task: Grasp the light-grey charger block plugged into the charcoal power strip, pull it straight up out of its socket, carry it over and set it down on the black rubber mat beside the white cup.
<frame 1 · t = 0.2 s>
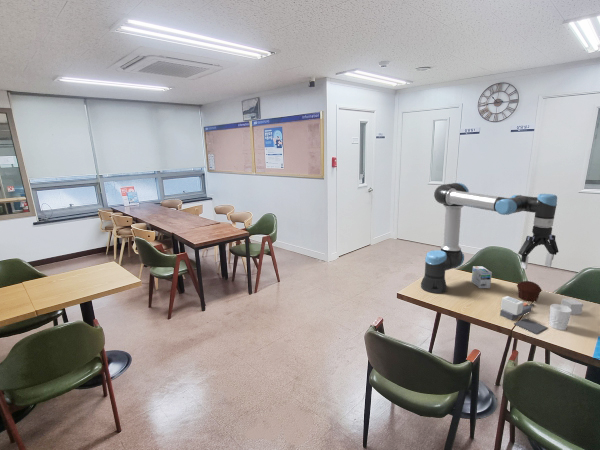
hand: (535, 267, 159), 27 cm above the table, fingers open, 13 cm apart
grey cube: (570, 312, 168), on the table
light bulb box: (480, 285, 203), on the table
white cup: (557, 326, 155), on the table
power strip: (515, 313, 168), on the table
muffin: (527, 298, 183), on the table
mat: (530, 326, 155), on the table
charger: (511, 310, 165), point 3 cm above the table, touching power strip
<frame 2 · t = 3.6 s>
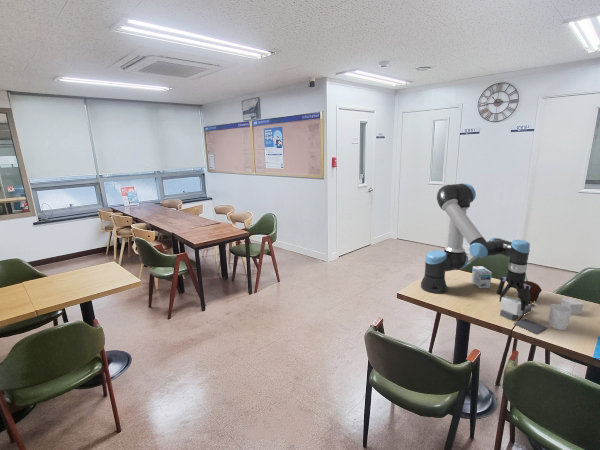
hand: (510, 311, 165), 2 cm above the table, fingers closed on charger, 8 cm apart
charger: (511, 310, 165), point 3 cm above the table, touching gripper, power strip
everything else where it was.
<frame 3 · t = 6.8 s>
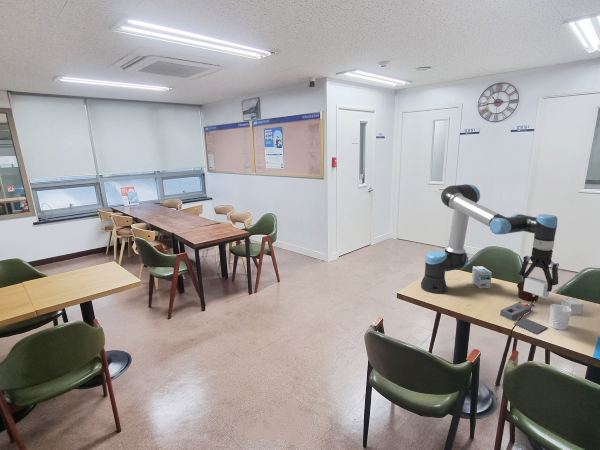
hand: (535, 293, 151), 18 cm above the table, fingers closed on charger, 8 cm apart
charger: (535, 292, 151), point 18 cm above the table, touching gripper
everything else where it was.
when the fingers open (3 cm above the table, at t = 10.3 s): charger drops 1 cm, resting on mat.
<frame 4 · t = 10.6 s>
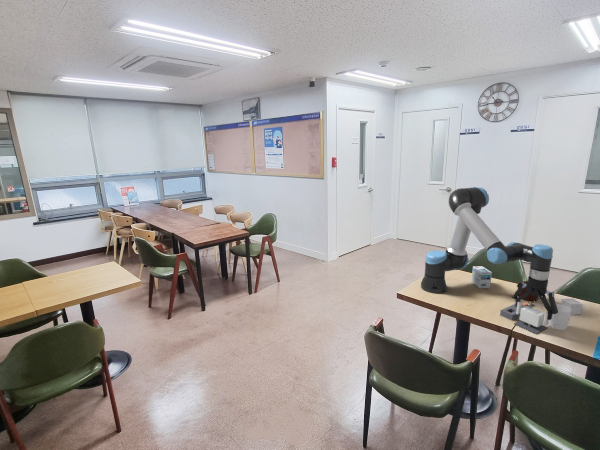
hand: (531, 319, 155), 4 cm above the table, fingers open, 11 cm apart
charger: (530, 321, 155), point 2 cm above the table, touching mat
everything else where it was.
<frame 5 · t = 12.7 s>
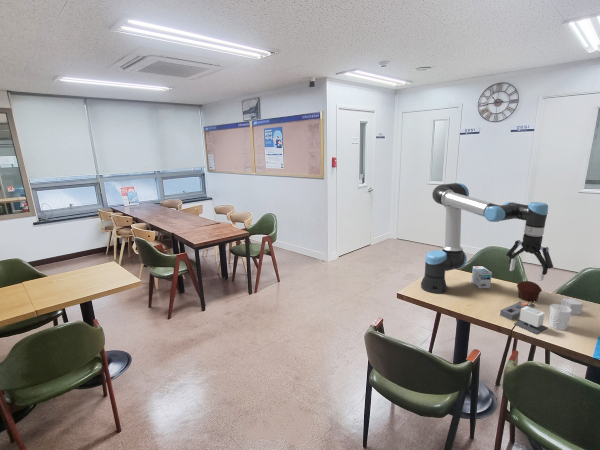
hand: (525, 275, 159), 23 cm above the table, fingers open, 13 cm apart
nothing on the table moved.
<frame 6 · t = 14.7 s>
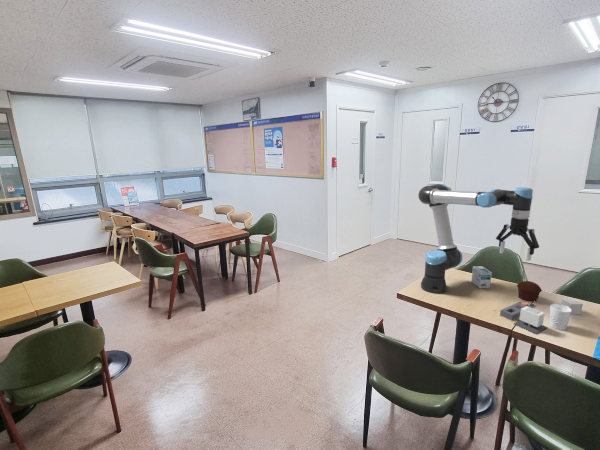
hand: (514, 256, 169), 29 cm above the table, fingers open, 13 cm apart
nothing on the table moved.
at the end: charger inside the target area on the mat (0.0 cm from its centre), point 2.4 cm above the mat's base; charger touching mat; the gripper is holding nothing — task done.
